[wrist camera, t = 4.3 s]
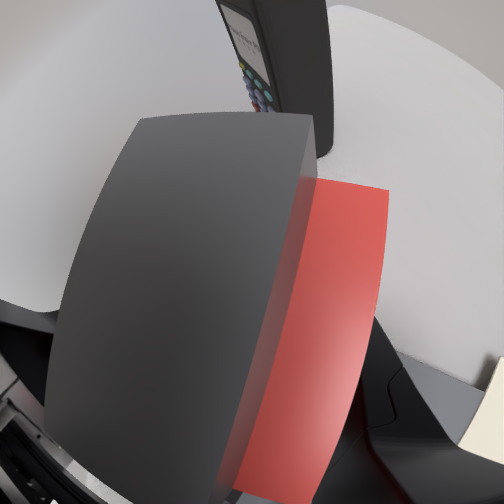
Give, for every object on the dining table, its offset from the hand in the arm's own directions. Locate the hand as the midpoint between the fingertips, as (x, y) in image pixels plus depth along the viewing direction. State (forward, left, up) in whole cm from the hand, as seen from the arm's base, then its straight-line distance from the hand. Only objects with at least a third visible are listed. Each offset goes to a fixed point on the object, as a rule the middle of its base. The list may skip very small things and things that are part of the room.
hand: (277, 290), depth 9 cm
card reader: (+14, +8, -9) cm, 18 cm away
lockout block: (-1, 0, -6) cm, 6 cm away
